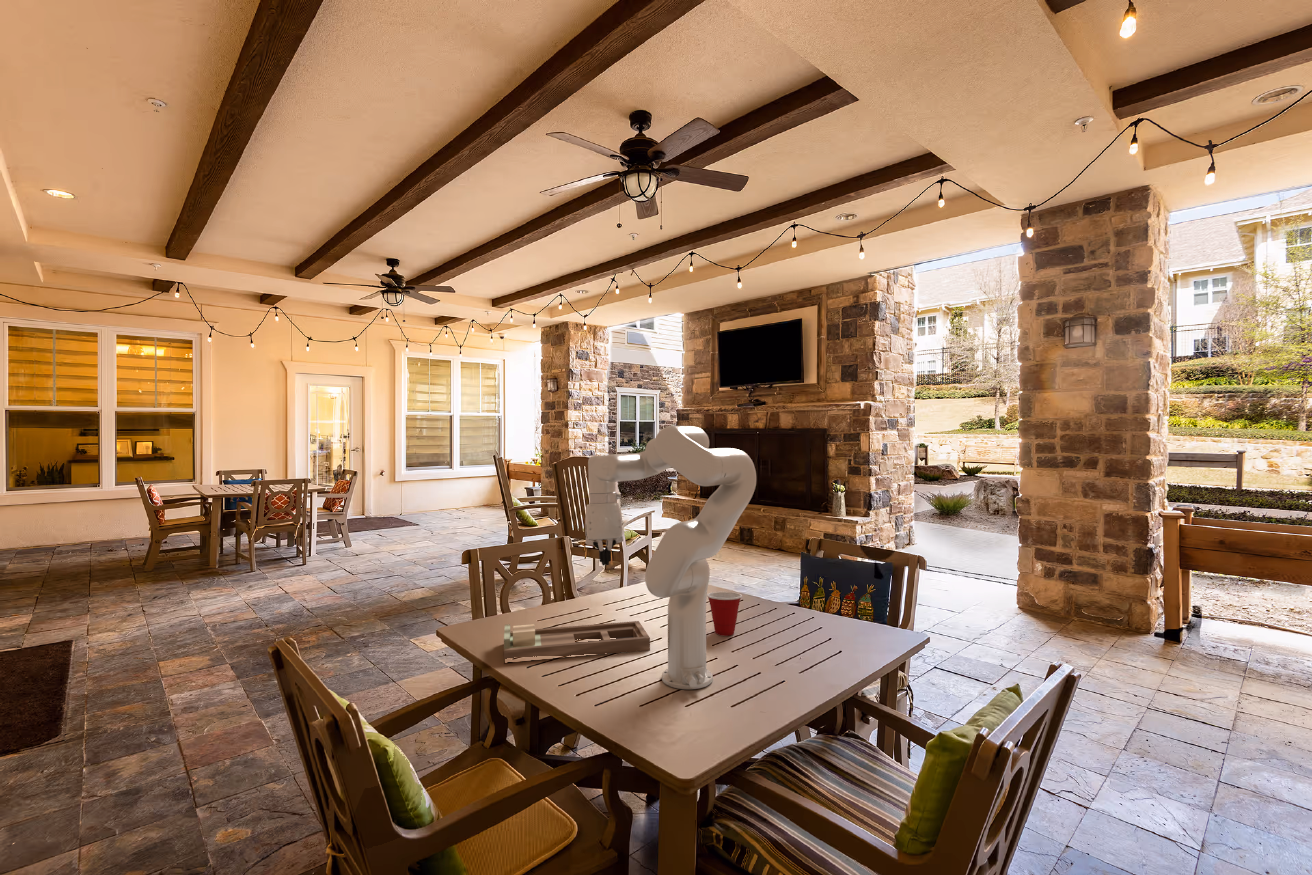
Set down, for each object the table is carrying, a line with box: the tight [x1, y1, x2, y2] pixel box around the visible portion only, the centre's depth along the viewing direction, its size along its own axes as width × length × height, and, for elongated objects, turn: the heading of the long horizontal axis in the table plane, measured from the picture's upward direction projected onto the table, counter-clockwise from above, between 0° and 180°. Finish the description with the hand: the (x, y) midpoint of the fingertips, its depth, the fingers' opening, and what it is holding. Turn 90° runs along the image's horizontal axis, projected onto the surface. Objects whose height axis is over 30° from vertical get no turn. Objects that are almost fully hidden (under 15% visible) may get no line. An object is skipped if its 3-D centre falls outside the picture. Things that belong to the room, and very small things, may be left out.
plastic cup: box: [706, 591, 743, 637], centre depth 182 cm, size 11×11×12 cm
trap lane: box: [503, 620, 651, 660], centre depth 170 cm, size 16×40×6 cm, turn 103°
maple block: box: [512, 623, 536, 647], centre depth 167 cm, size 6×6×4 cm
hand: (605, 564), depth 167 cm, fingers closed
